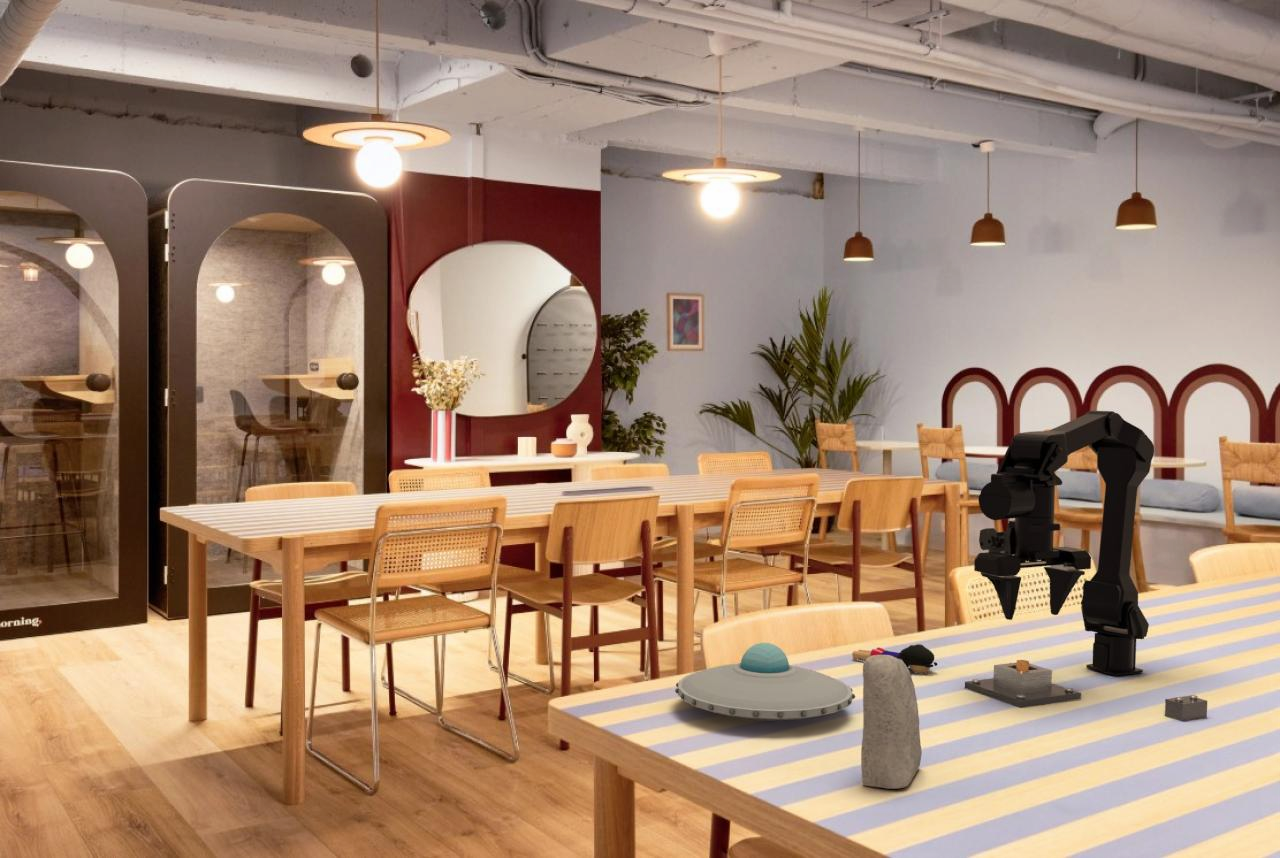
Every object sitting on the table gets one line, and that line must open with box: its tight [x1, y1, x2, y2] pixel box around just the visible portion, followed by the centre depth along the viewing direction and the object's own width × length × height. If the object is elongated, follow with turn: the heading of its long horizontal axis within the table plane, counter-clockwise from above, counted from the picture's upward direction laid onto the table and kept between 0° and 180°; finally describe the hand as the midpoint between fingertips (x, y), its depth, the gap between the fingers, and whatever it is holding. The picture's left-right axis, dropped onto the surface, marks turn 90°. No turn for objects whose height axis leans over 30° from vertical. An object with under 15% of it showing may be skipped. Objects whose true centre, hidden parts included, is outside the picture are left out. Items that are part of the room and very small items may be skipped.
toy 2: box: [852, 643, 938, 675], centre depth 202 cm, size 10×5×15 cm
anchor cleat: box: [1164, 694, 1208, 722], centre depth 174 cm, size 5×3×3 cm, turn 116°
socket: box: [993, 661, 1053, 694], centre depth 186 cm, size 6×6×3 cm
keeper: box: [964, 659, 1082, 708], centre depth 186 cm, size 12×12×5 cm
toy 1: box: [674, 642, 856, 721], centre depth 173 cm, size 26×26×10 cm
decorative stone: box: [860, 655, 923, 790], centre depth 146 cm, size 11×6×15 cm, turn 150°
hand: (1031, 617), depth 186 cm, fingers open, 9 cm apart
